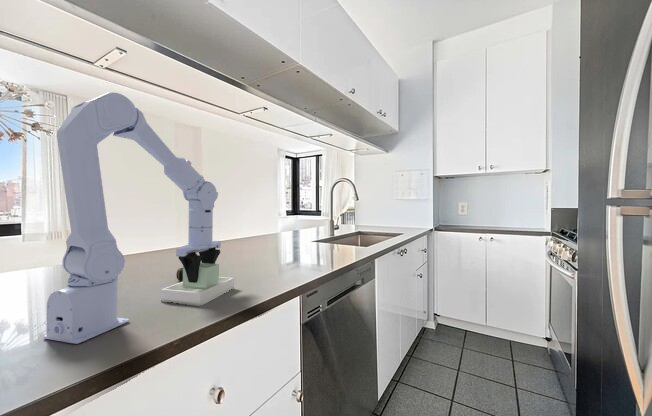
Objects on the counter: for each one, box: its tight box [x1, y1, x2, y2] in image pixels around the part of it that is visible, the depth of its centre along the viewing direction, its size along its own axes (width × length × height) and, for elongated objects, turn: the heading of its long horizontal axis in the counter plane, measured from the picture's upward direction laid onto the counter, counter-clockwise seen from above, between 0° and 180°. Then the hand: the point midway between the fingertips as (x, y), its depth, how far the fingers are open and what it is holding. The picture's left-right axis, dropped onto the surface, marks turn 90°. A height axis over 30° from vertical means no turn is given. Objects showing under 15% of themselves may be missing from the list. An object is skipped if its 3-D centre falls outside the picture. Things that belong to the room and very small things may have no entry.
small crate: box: [182, 262, 220, 290], centre depth 72 cm, size 5×7×6 cm
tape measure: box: [175, 267, 183, 282], centre depth 86 cm, size 7×7×4 cm
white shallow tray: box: [160, 276, 235, 307], centre depth 72 cm, size 14×11×3 cm
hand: (200, 279), depth 72 cm, fingers closed on small crate, 5 cm apart
